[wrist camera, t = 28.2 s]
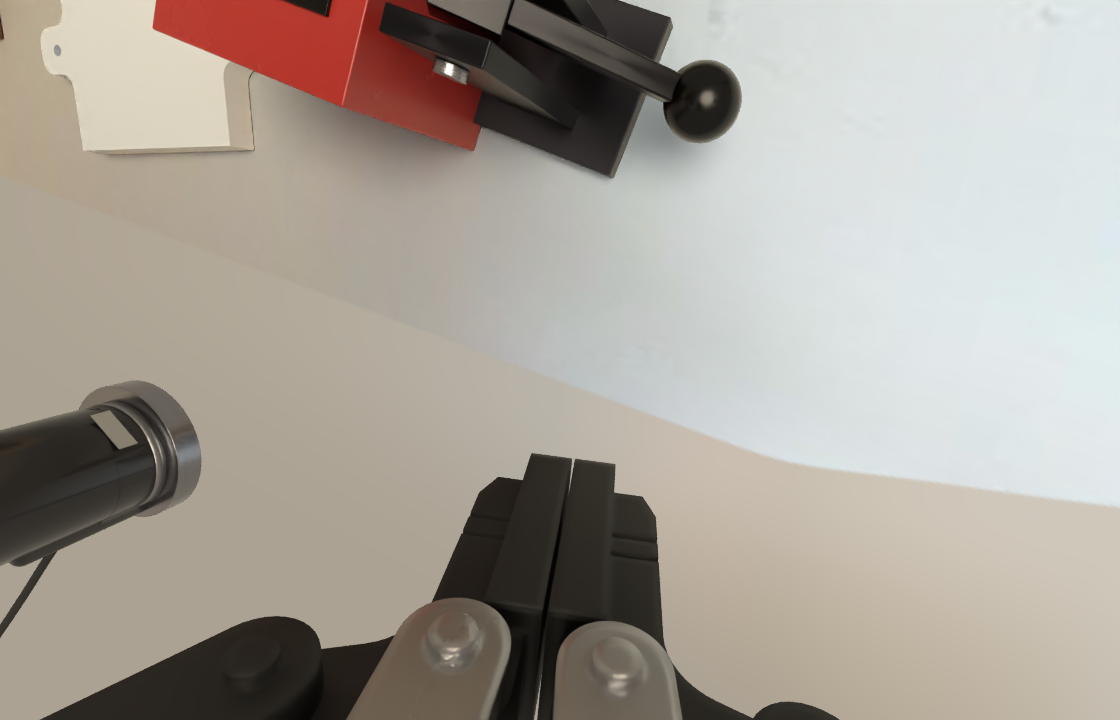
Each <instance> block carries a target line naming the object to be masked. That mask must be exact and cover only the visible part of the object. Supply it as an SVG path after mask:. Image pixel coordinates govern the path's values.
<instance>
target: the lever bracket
mask: <svg viewBox="0 0 1120 720" xmlns="http://www.w3.org/2000/svg"><path fill="white" fill-rule="evenodd" d="M529 1H532V2H534V3H536V4H538V5H540V6H542V7H544V8H546V9H548V10H550V11H552V12H554V13H556V14H558V15H560V16H562V17H565V18H567V19H569V20H571V21H573V22H575V23H577V24H579V25H581V26H583V27H585V28H587V29H589V30H591V31H593V32H595V33H598V34H600V35H602V36H604V37H606V38H608V39H610V40H612V41H614V42H616V43H618V44H620V45H622V46H624V47H626V48H629V49H631V50H633V51H635V52H637V53H639V54H641V55H643V56H645V57H647V58H649V59H651V60H653V61H655V62H657V63H659V61H660V58H661V56H662V53H663V51H664V48H665V45H666V43H667V40H668V38H669V35H670V33H671V30H672V28H673V25H672V21H671V18H670V17H667V16H664V15H661V14H658V13H655V12H652V11H649V10H646V9H643V8H640V7H637V6H634V5H631V4H628V3H625V2H622V1H619V0H529ZM379 31H380V32H382V33H383V34H385V35H387V36H389V37H390V38H392V39H394V40H395V41H397V42H399V43H401V44H402V45H404V46H406V47H407V48H409V49H411V50H413V51H414V52H416V53H418V54H419V55H421V56H423V57H425V58H426V59H428V60H430V61H431V62H433V65H432V68H431V69H432V71H433V72H435V73H437V74H439V75H441V76H443V77H445V78H448V79H450V80H452V81H455V82H457V83H460V84H463V85H466V84H467V83H469V84H471V85H473V86H474V87H476V88H478V89H480V90H481V91H482V94H481V97H480V100H479V104H478V107H477V110H476V113H475V117H474V120H473V122H474V123H476V124H478V125H481V126H483V127H486V128H488V129H491V130H493V131H496V132H498V133H501V134H503V135H506V136H508V137H511V138H513V139H516V140H518V141H521V142H523V143H526V144H528V145H531V146H533V147H536V148H539V149H541V150H544V151H546V152H549V153H551V154H554V155H556V156H559V157H561V158H564V159H566V160H569V161H571V162H574V163H576V164H579V165H581V166H584V167H586V168H589V169H591V170H594V171H596V172H599V173H601V174H604V175H606V176H609V177H611V178H614V176H615V173H616V171H617V168H618V166H619V163H620V160H621V158H622V155H623V153H624V150H625V148H626V145H627V143H628V140H629V137H630V135H631V132H632V130H633V127H634V125H635V122H636V120H637V117H638V114H639V112H640V109H641V107H642V104H643V102H644V99H645V97H646V94H644V93H642V92H640V91H637V90H635V89H633V88H631V87H629V86H627V85H624V84H622V83H620V82H618V81H616V80H614V79H611V78H609V77H607V76H605V75H603V74H601V73H599V72H596V71H594V70H592V69H590V68H588V67H586V66H583V65H581V64H579V63H577V62H575V61H573V60H570V59H568V58H566V57H564V56H562V55H560V54H558V53H555V52H553V51H551V50H549V49H547V48H545V47H542V46H540V45H538V44H536V43H534V42H532V41H529V40H527V39H525V38H523V37H521V36H519V35H517V34H514V33H512V32H510V31H508V30H506V29H505V28H504V31H503V34H502V37H501V38H500V40H499V42H498V44H495V43H494V42H493V41H492V40H490V39H488V38H485V37H482V36H479V35H477V34H474V33H471V32H468V31H466V30H463V29H460V28H457V27H455V26H452V25H449V24H446V23H444V22H441V21H438V20H435V19H433V18H430V17H427V16H424V15H422V14H419V13H416V12H413V11H411V10H408V9H405V8H402V7H400V6H397V5H394V4H391V3H389V2H386V3H385V6H384V10H383V14H382V18H381V22H380V26H379Z"/></svg>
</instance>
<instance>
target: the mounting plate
mask: <svg viewBox="0 0 1120 720" xmlns="http://www.w3.org/2000/svg"><path fill="white" fill-rule="evenodd" d="M155 4H156V0H61V5H62V18H61V21H60V23H59V24H58V25H57V26H53V27H47V28H45V29H44V30H43V32H42V34H41V39H40V41H41V49H42V56H43V61H44V65H45V67H46V69H47V70H48V71H49V72H50V73H51V74H53V75H57V76H61V77H65V78H69V79H70V80H71V82H72V84H73V87H74V92H75V99H76V106H77V112H78V119H79V126H80V133H81V139H82V146H83V151H90V152H97V153H104V154H144V153H178V152H212V151H246V150H254V144H253V133H252V122H251V111H250V99H249V88H248V81H249V77H250V75H251V73H252V72H253V70H250V69H248V68H245V67H243V66H241V65H238V64H236V63H233V62H231V61H228V60H226V59H224V58H221V57H219V56H216V55H214V54H211V53H209V52H207V51H204V50H202V49H199V48H197V47H194V46H192V45H190V44H187V43H185V42H182V41H180V40H178V39H175V38H173V37H170V36H168V35H165V34H163V33H161V32H158V31H156V30H154V29H153V27H152V26H153V19H154V12H155Z"/></svg>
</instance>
